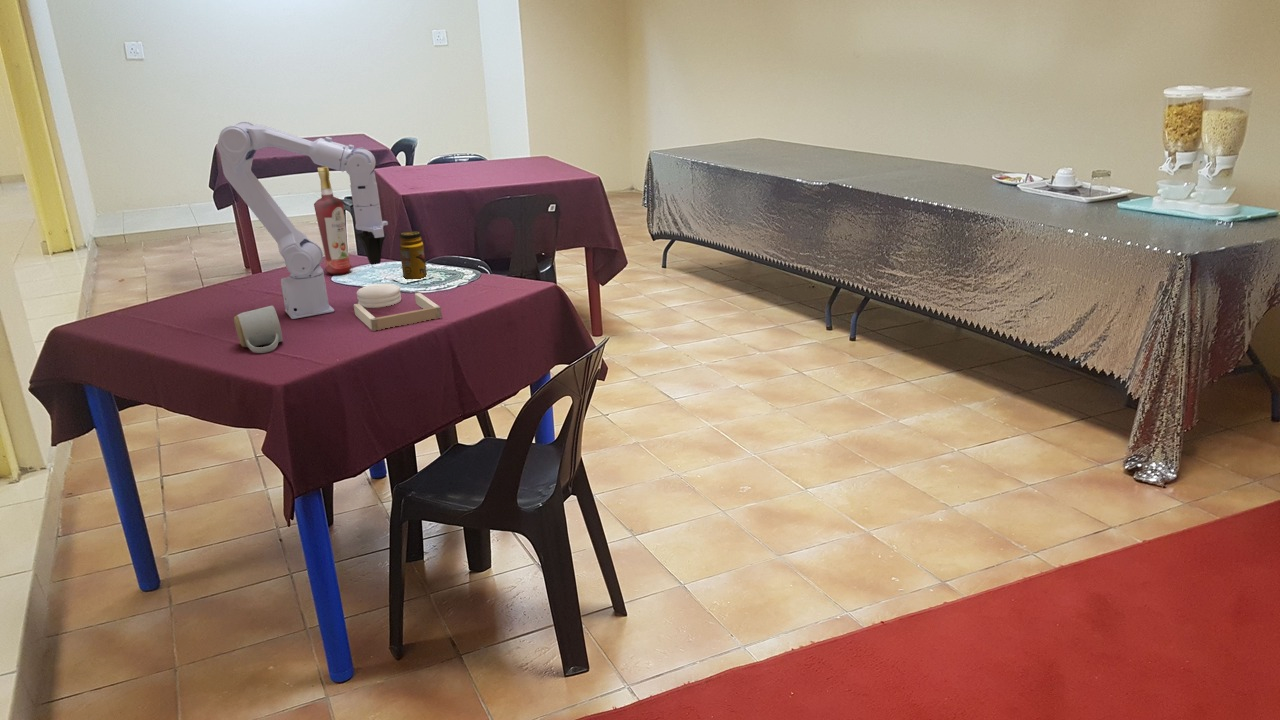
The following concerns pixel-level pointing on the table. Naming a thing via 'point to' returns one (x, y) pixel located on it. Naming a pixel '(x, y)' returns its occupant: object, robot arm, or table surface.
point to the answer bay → (400, 315)
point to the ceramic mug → (259, 329)
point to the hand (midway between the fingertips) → (375, 263)
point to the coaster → (379, 295)
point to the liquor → (332, 227)
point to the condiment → (412, 255)
